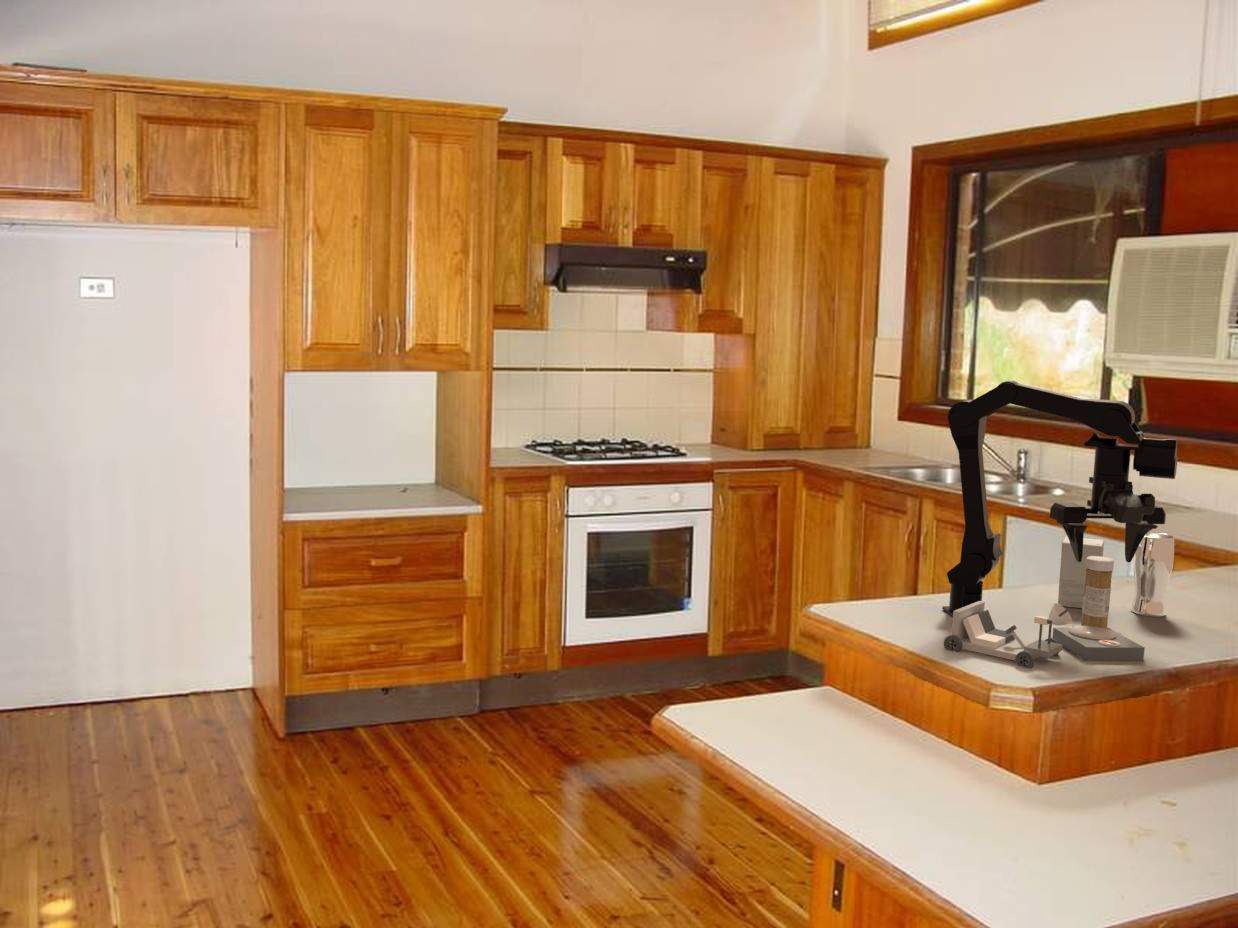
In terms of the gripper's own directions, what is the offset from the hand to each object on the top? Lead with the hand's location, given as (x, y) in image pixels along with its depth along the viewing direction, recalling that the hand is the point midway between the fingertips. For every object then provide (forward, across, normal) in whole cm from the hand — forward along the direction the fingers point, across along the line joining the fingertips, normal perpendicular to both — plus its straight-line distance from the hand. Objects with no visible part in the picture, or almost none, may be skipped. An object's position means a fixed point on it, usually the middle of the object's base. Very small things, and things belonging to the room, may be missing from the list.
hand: (1103, 561), depth 219 cm
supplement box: (+13, +7, +21) cm, 26 cm away
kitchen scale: (+13, -6, -10) cm, 17 cm away
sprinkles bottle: (+13, 0, +1) cm, 13 cm away
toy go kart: (+14, -22, -12) cm, 28 cm away
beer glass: (+13, +18, +14) cm, 27 cm away
